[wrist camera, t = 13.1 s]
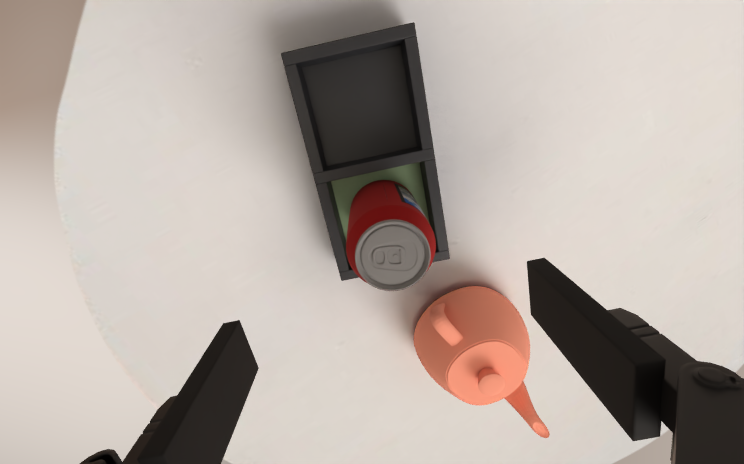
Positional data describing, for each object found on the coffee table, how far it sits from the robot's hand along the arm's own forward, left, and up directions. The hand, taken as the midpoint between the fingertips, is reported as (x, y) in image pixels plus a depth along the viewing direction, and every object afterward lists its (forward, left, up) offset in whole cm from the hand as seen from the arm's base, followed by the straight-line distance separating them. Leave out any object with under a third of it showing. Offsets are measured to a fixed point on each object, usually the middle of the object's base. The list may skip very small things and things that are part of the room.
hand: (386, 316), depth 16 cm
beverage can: (+1, +1, -21) cm, 21 cm away
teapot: (+18, +8, -22) cm, 30 cm away
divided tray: (-4, +1, -22) cm, 22 cm away
